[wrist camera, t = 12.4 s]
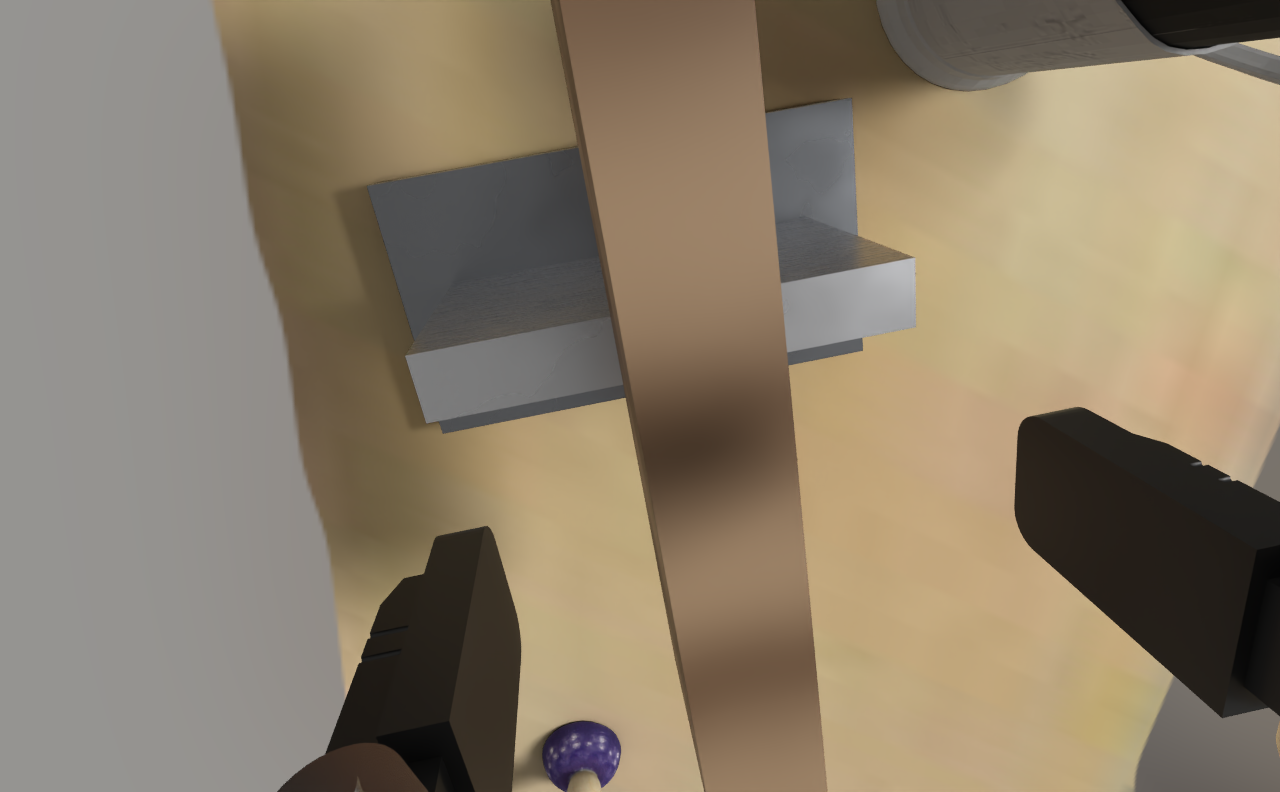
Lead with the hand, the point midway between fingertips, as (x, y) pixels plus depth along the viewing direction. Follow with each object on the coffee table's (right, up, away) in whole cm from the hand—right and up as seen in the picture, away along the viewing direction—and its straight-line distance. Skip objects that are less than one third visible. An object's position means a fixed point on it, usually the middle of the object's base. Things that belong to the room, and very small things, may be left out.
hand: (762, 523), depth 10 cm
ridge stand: (-2, +7, +18) cm, 19 cm away
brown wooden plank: (-1, +4, +9) cm, 9 cm away
